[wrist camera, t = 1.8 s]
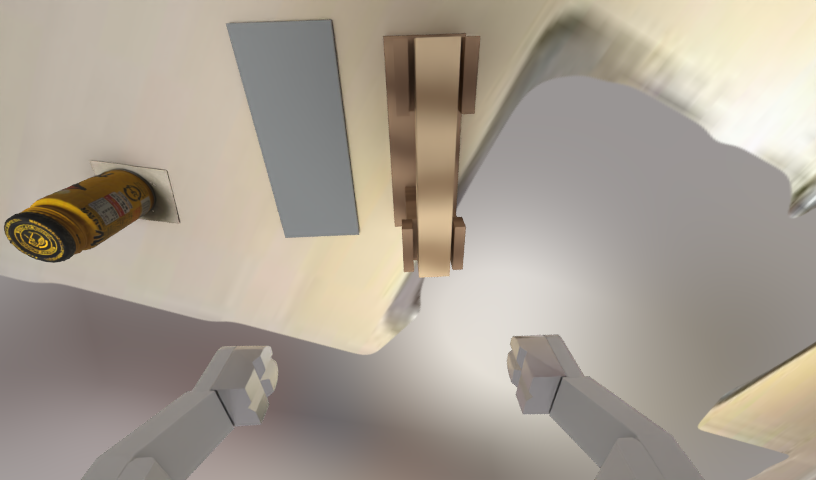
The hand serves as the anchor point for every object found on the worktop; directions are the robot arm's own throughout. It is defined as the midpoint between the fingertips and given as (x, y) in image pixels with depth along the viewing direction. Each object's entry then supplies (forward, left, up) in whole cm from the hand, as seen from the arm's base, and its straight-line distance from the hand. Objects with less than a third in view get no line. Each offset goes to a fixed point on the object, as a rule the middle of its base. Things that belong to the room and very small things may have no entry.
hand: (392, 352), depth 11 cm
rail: (+1, +3, -19) cm, 19 cm away
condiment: (+6, -33, -31) cm, 45 cm away
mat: (+1, -11, -30) cm, 32 cm away
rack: (+1, +3, -30) cm, 30 cm away
